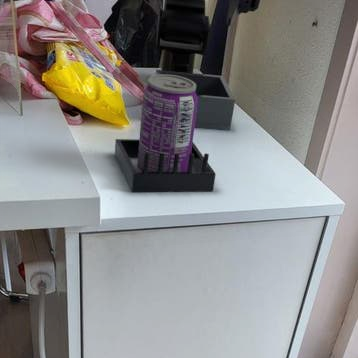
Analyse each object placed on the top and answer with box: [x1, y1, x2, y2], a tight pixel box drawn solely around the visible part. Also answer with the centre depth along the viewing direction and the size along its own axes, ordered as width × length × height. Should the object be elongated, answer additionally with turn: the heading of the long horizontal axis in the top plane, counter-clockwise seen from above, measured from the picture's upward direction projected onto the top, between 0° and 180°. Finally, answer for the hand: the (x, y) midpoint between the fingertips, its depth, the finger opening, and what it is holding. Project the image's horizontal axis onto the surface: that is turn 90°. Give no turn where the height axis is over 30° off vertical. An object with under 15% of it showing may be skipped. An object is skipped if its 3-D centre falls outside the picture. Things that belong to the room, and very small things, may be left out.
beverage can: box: [136, 74, 198, 172], centre depth 86 cm, size 7×7×12 cm
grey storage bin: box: [154, 69, 236, 131], centre depth 107 cm, size 12×12×5 cm
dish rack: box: [114, 138, 217, 193], centre depth 88 cm, size 11×11×5 cm
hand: (195, 18), depth 86 cm, fingers open, 9 cm apart
